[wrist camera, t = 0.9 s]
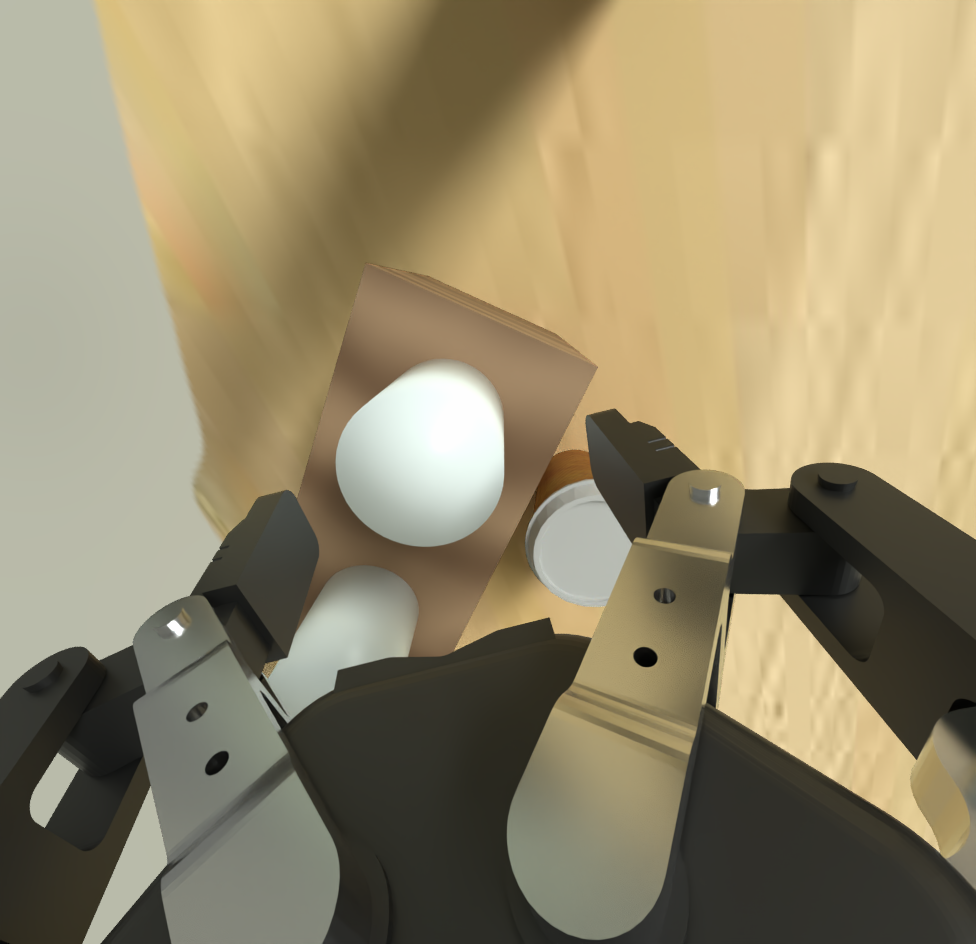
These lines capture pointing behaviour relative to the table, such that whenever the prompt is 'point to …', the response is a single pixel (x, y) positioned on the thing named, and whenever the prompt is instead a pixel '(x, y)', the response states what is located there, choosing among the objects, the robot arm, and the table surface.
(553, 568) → the disposable coffee cup
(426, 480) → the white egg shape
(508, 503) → the wooden bench stand
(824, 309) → the table surface
